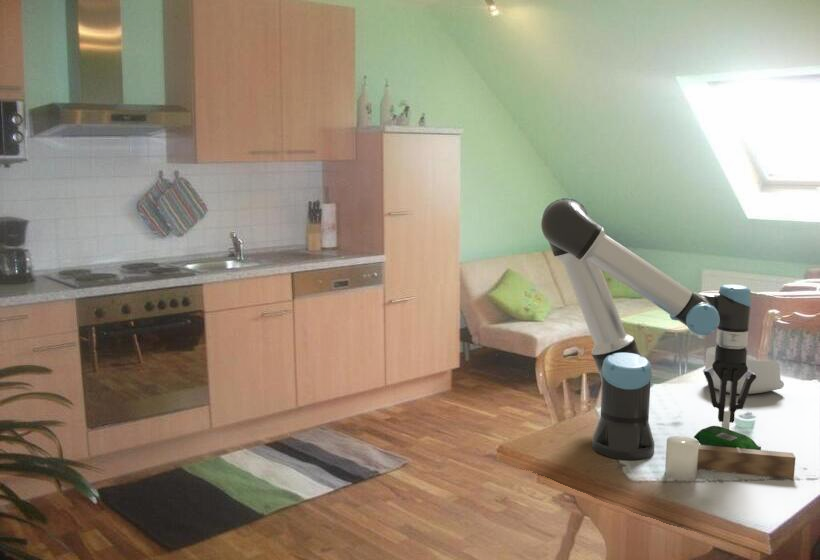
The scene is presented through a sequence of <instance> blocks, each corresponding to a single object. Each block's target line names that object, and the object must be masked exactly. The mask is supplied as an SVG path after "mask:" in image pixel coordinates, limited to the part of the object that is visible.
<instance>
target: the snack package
mask: <svg viewBox="0 0 820 560" xmlns="http://www.w3.org/2000/svg"><path fill="white" fill-rule="evenodd" d="M693 439H695V440H697V441H698V442H699V445H708V446H719V447H731V448H736V447H738V448H742V449H754V450H762V447H761V446H759V445H757V443H756V442H755V441H754V439H752V438H751V437H749V436H747V435H746V434H743V433H740V432H737V431H734V430H732V429H730V428H729V429H726V428H723V427H722V426H719V425H710V426H707V427H706V428H702V429H700V430H699V431H698V432H696V434H695V435H694V436H693Z"/></svg>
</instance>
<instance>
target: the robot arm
mask: <svg viewBox="0 0 820 560" xmlns="http://www.w3.org/2000/svg"><path fill="white" fill-rule="evenodd" d="M588 214H589V213H588V211H587V209H586V208H585V207H584V205H583V204H582V203H581V202H579V201H578V200H577V199H573V198H569V197H565V198H564V197H563V198H559V199H556V200H554V201H552V202H551V203H549V204H548V206H546V208H545V209H544V211H543V213H542V218H541V220H540V225H541V226H540V227H541V228H540V229H541V231H542V235H543V236H544V238H545V239H546V241H548V244H549V246H550V249H551V252H552V254H553V256H554V258H556V259H559V260H560V261H562V264H563V267H564V269H565V272H566V274H567V277H568V279H569V282H570V285H571V286H572V289H573V291H574V294H575V295H574V296H575V298H576V300H577V303H578V305H579V308H580V310H581V312H582V316H583V318H584V321H585V323H586V326H587V328H588V332H589V333H590V336H591V339H592V341H593V347H592V349H591V352H590V353H591V354H592V358H593V360H594V363H595V365H596V368H597V371H598V373H599V376H600V382H601V392H600V393H601V395H600V397H601V399H600V400H601V401H600V418H599V420H598V422H597V424H596V427H595V430H594V432H593V436H592V440H591V441H592V443H591V447H592V449H593V451H594V452H596V453H597V454H600V455H602V456H605V457H607V458H612V459H617V460H627V461H628V460H629V461H632V460H633V461H634V460H635V461H636V460H643V459H647V458H649V457H652V456H653V455H654V454H655V440H654V437H653V433H652V430H651V426H650V422H649V415H650V399H651V398H650V397H651V380H652V376H653V375H652V374H653V373H652V365H651V362H650V361H649V360H648V358H646V357H645V356H642V355H641V353H640V350H639V347H638V345H637V343H636V340H635V337H634V336H632V335H631V334H628V333H626V330H625V328H624V326H623V325H624V324H623V322H622V319H621V317H620V315H619V312H618V309H617V307H616V304H615V302H614V299H613V296H612V294H611V291H610V288H609V286H608V283H607V280H606V278H605V276H604V273H603V272H605V273H606V274H608V275H610V276H611V277H612V278H614V279H615V280H617V281H619V282H620V283H622V284H623V285H624V286H626V287H628V288H629V289H630V290H632V291H634V292H635V293H637V294H639V296H641V297H643V298H644V299H646V300H647V301H649V302H650V303H652V304H654V305H655V306H657V307H658V308H659V309H660V310H662V311H664V312H666V313H667V314H669V318H670V319H671V320H673V321H679V322H680V323H682V324H683V325H685V326H686V327H687V328H688V329H689V331H691V332H693V333H694V334H696V335H699V336H707V335H710V334H713V333H714V332H715V331H716V339H715V342H716V345H715V346H716V350H715V361H714V363H713V364H712V367H711V368H709V369H705V368H704V369H703V370H702V372H703V374H704V377H705V376H706V377H705V379H706V378H707V380H706V382H707V386H708V392H709V397H710V400H711V401H710V402H711V405H712V407H713V408H715V409H718V412H717V419H718V421H719V423H721V427H723V428H726V429H729V430H730V424H731V423H735V414H736V411H737V410H743V408H744V405H745V403H746V400H747V397H748V395H749V394H748V392H749V389H750V386H751V383H752V382H753V381H754V380H755V379H756V375H755V373H754V372H751V371H749V370H748V367H747V365H746V357H747V355H748V348H747V346H748V345H749V344H748V343H749V326H750V317H751V316H750V314H751V308H752V305H751V304H752V303H751V301H752V297H751V296H752V291H751V289H750V288H749V287H747V286H745V285H740V284H722V285H721V286H720V287H719V290H718V292H703V291H702V292H697V291H692V290H690V289H689V288H687V287H685V285H682V284H681V283H679V282H678V281H677V280H674V279H673V278H672V277H670V276H669V275H667V274H665V272H663V271H661V270H660V269H658V268H657V267H655V266H654V265H652V264H651V263H649V262H648V261H646V260H645V259H643V258H642V257H640V256H639V255H638V254H636V253H634V252H633V251H631V250H630V249H628V248H627V247H625V246H624V245H622V244H621V243H619V242H617V241H616V240H614V239H613V238H612V237H610V236H608V235H607V234H606V233H605V230H604V229H605V228H604V227H603V226H601V225H600V224H598V223H597V222H595V221H594V220H593V219H592V218H591V217H590V216H589V215H588ZM714 371H715V373H716V374H717V375H718V377H719V378H720V390H719V396H718V400H717V396H716V390H715V389H716V388H714V384H713V379H712V377H713V375H714V374H713V372H714ZM745 373H746V375H745V377H746V379H745V381H744V384H743V387H742V390H741V393H740V394H739V395H738V394H737V385H738V380H740V378H741V377H742V376H743V375H744V374H745ZM727 381H731V387H730V393H729V402H728V403H729V404H728V407H726V394H727V392H726V385H727ZM737 395H738V399H737Z"/></svg>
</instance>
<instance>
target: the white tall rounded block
mask: <svg viewBox="0 0 820 560" xmlns="http://www.w3.org/2000/svg"><path fill="white" fill-rule="evenodd" d="M699 445H700V443H699V442H698V440H697V439H695V438H694V437H693V438H692V437H689V436H683V435H675V436H674V435H672V436H669V437H668V438H666V452H665V465H664V466H665V467H664V468H665V469H664V470H665V471H664V474H665V473H666V474H667V475H668V476H667V475H666V474H665V475H666V476H667V477H669V478H671V477H672V478H671V479H674V480H678V481H679V480H680V481H693V480H695V479H697V477H698V469H697V465H698V449H699ZM692 479H693V480H692Z"/></svg>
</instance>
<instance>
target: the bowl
mask: <svg viewBox="0 0 820 560" xmlns="http://www.w3.org/2000/svg"><path fill="white" fill-rule="evenodd" d="M715 350H716V345H715V346H710V347H708V348H706V350H705V365H704V369H709V368H711V367H712V364H713V363H714V361H715ZM746 365H747V367H748V370H749V371H751V372H754V373H755V375H756V379H755V380H754V381H753V382H752V383H751V386H750V389H749V392H748V395H754V394H761V393H767V392H771V391H773V392H774V391H777V390H781V389H783V388H784V386H785V384H784V381H782V380H781V371H780V370H781V369H780V363H779V362H777V361H769V360H767V361H766V360H759V359H758V358H757V357H754V356H753V355H750V354H747V357H746ZM713 374H714V375H713V377H712V379H713V384H714V389H716V390H718V391H720V378H719V377H718V375H717V374H716V373H715V371H714V372H713ZM745 375H746V373H745V374H744V375H743V376H742V377H741V378H740V380H738V385H737V394H736V395H740V393H741V390H742V387H743V384H744V381H745V379H746V377H745ZM704 378H705V381H707V378H706V376H705V375H704ZM730 387H731V381H727V385H726V394H727V393H728V394H730Z"/></svg>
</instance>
